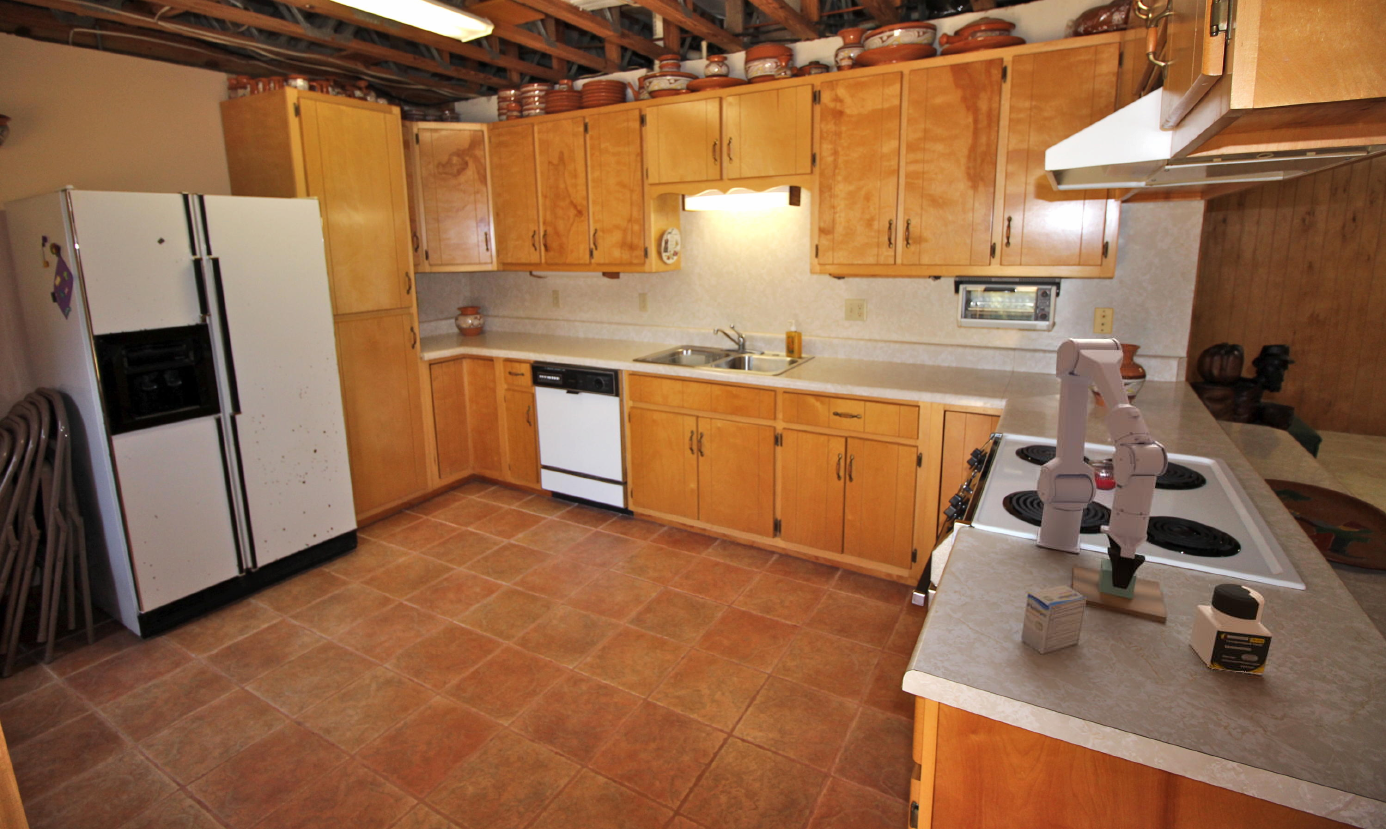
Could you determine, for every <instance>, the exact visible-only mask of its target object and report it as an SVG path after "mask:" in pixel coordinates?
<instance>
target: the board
mask: <svg viewBox="0 0 1386 829" xmlns="http://www.w3.org/2000/svg"><path fill="white" fill-rule="evenodd" d="M1072 570H1073V571H1072V590H1074V591H1076V592H1078V593H1079V594H1081V595H1083V596H1084V597H1086V604H1085V606H1087V607H1088V606H1089V607H1093V608H1098V609H1102V610H1106V611H1110V612H1115V613H1121V614H1124V615H1128V616H1133V617H1137V618H1142V619H1147V620H1152V621H1156V622H1160V623H1163V624H1164V623H1166V621H1167V613H1166V610H1165V604H1164V600H1163V599H1164V598H1163V596H1162V595H1163V594H1162V590H1161V586H1160V582H1159V581H1157V580H1156V581H1155V580H1150V579H1145V578H1141V577H1140V578H1139V577H1136V583H1135V588H1134V594H1133V599H1130V598H1126V597H1121V596H1116V595H1112V594H1107V593H1102V592H1099V581H1098V579H1099V573H1100V569H1095V568H1090V567H1085V566H1079V565H1073V568H1072Z"/></svg>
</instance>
